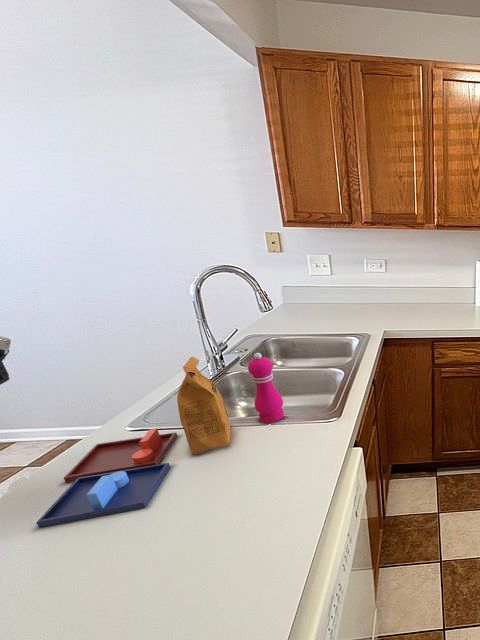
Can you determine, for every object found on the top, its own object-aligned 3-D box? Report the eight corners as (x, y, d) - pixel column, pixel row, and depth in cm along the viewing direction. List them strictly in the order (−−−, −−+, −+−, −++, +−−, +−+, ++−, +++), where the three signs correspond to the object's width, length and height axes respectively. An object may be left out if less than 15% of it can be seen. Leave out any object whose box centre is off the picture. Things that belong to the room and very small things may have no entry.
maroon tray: (65, 483, 88) (63, 477, 88) (98, 448, 100) (96, 443, 100) (157, 467, 93) (155, 462, 92) (177, 436, 105) (176, 432, 104)
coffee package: (236, 424, 110) (215, 351, 102) (233, 447, 100) (210, 368, 92) (193, 433, 106) (168, 357, 98) (186, 458, 96) (157, 377, 88)
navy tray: (38, 528, 76) (35, 522, 76) (80, 482, 88) (77, 477, 88) (145, 507, 81) (143, 502, 81) (170, 467, 93) (168, 462, 93)
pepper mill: (252, 422, 112) (235, 356, 104) (270, 409, 118) (255, 347, 110) (274, 425, 110) (258, 359, 102) (291, 412, 116) (278, 349, 109)
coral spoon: (149, 443, 101) (144, 429, 100) (167, 440, 103) (162, 427, 101) (131, 466, 93) (125, 452, 91) (150, 463, 94) (145, 449, 92)
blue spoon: (109, 507, 81) (102, 491, 79) (86, 511, 79) (79, 496, 78) (132, 476, 89) (126, 462, 88) (112, 480, 88) (105, 465, 87)
